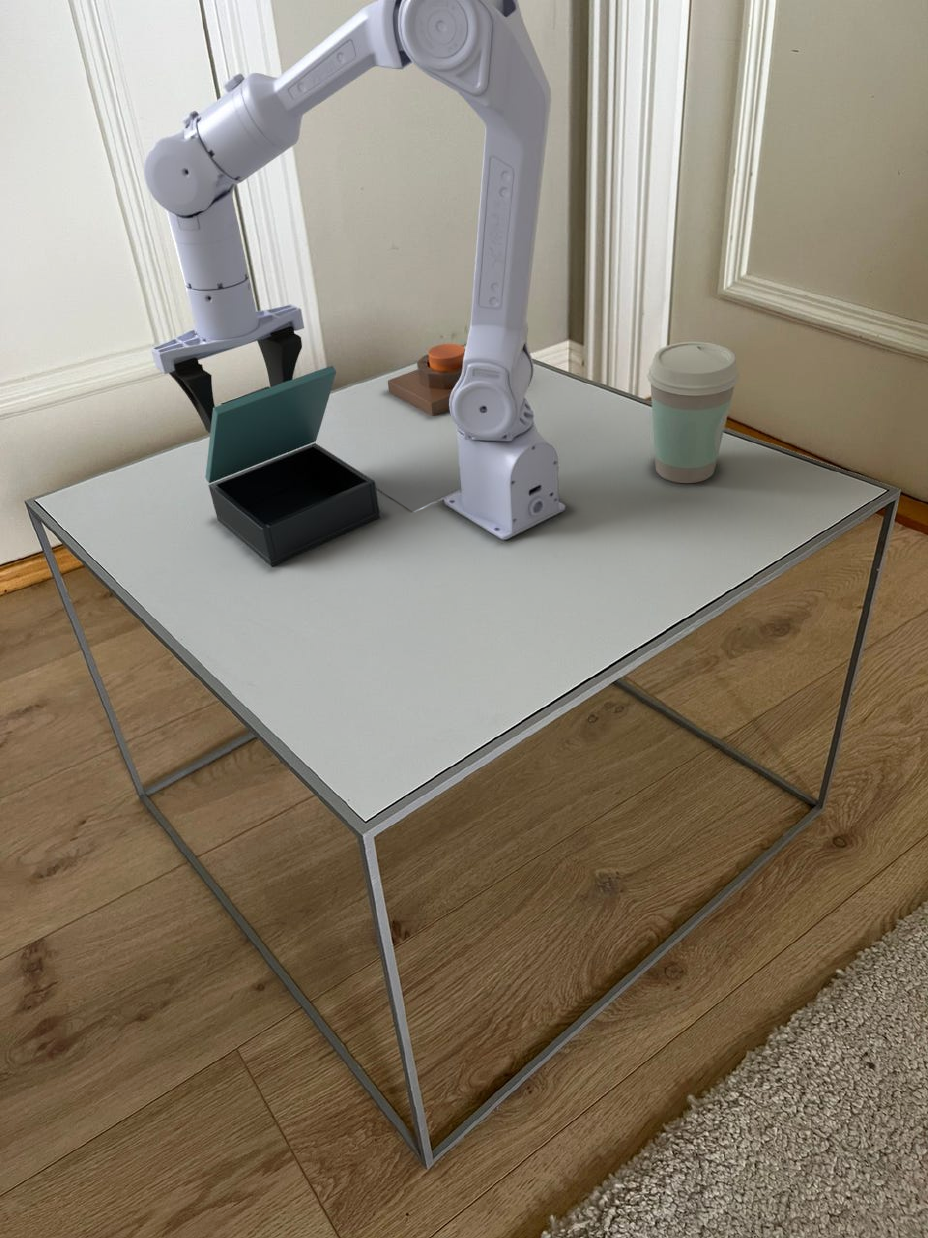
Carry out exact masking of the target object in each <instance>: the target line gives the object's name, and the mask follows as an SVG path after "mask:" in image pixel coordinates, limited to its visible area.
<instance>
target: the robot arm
mask: <svg viewBox="0 0 928 1238" xmlns="http://www.w3.org/2000/svg"><path fill="white" fill-rule="evenodd" d="M411 64H413V65H414V66H415V67H416V68H417V69H419V70H420V71H422V72H423V73H425V74H426V75H427V76H429V77H430V78H432V79H434V80H435V81H438V82H440V83H441V84H443V85H445V86H446V87H448V88H450V89H452V90H453V91H455V92H457V93H458V94H459V95H460V96H461V98H462V99H463V100H464V101H465V102H466V103H467V105H469V107H470V108H471V109H472V110H473V111H474V112H475V114H476V115H477V116H478V117H479V118H480V120H482V122H483V123H484V126H485V129H484V130H485V132H484V143H483V144H484V145H483V155H482V157H483V158H482V170H481V183H480V193H479V194H480V195H479V207H478V208H479V210H478V221H477V234H476V236H477V237H476V245H475V247H476V249H475V261H474V274H473V275H474V276H473V285H472V298H471V299H472V300H471V310H470V311H471V312H470V313H471V314H470V325H469V330H468V335H467V340H466V344H465V353H464V359H463V369H462V374H461V377H460V379H459V381H458V382H457V384H456V385H455V387H454V388H453V390H452V392H451V395H450V399H449V408H450V409H449V413H450V416H451V419H452V421H453V422H454V424H455V425H456V427H455V429H456V439H457V452H458V453H457V454H458V463H459V464H458V465H459V475H460V476H459V477H460V489H461V491H458V492H456V493H454V494H452V495H450V496H447V497H445V498H444V502H443V503H444V505H445V506H447V507H448V508H450V509H452V510H454V511H455V512H456V513H458V514H459V515H462V516H463V517H465V518H467V519H468V520H470V521H471V522H473V523H474V524H476V525H478V526H480V528H483V529H484V530H485V531H487V532H489V533H491V534H492V535H494V536H495V537H497V538H498V539H500V540H503V541H504V540H505V541H506V540H509V539H511V538H513V537H514V536H517V535H518V534H521V533H523V532H525V531H526V530H528V529H530V528H532V527H534V526H537V525H539V524H540V523H542V522H544V521H546V520H548V519H550V518H552V517H555V516H556V515H559V513H560V514H561V513H562V512H564V511H565V510H566V504H564V503H562V502H560V500H559V456H558V453H557V450H556V449H555V447H554V446H553V445H552V444H551V443H550V442H548V441H547V440H546V439H545V438H544V437H543V436H542V434H540V432H539V430H538V429H537V427H536V424H535V419H534V411H533V410H532V409H531V405H530V404H529V402H528V400H527V399H526V398H525V397H526V393H527V390H528V387H530V383H531V382H532V380H533V377H534V369H535V368H534V365H535V364H534V360H533V357H532V355H531V353H530V350H529V346H528V335H529V334H528V333H529V325H528V321H527V314H528V305H529V299H530V298H529V297H530V288H531V279H532V271H533V263H534V254H535V245H536V238H537V228H538V221H539V219H538V218H539V213H540V211H539V209H540V202H541V193H542V185H543V175H544V166H545V158H546V152H547V151H546V150H547V141H548V133H549V132H548V131H549V123H550V115H551V107H552V91H551V90H552V89H551V86H550V83H549V81H548V78H547V76H546V73H545V71H544V69H543V66H542V64H541V61H540V58H539V56H538V54H537V52H536V49H535V46H534V45H533V41H532V40H531V37H530V35H529V33H528V30H527V28H526V25H525V23H524V19H523V16H522V11H521V8H520V4H519V1H518V0H376V1H374V2H372V3H370V4H368V5H366V6H364V7H362V8H361V9H360V10H358V11H357V12H356V13H354V15H352V17H350V18H349V19H348V20H346V21H345V22H344V23H343V24H341V25H340V26H339V27H338V28H337V29H335V30H334V31H333V32H332V33H331V34H330V35H328V36H327V37H326V38H325V39H324V40H322V41H321V42H320V43H319V44H317V45H316V46H314V48H312V49H311V50H310V51H309V52H308V53H307V54H305V55H304V56H303V57H301V58H300V59H299V60H298V61H296V62H295V63H294V64H293V65H291V67H289V68H288V69H287V70H286V71H284V73H282V74H281V75H280V76H278V77H274V76H270V75H267V74H264V73H259V72H253V73H250V74H249V75H247V76H246V77H244V75H243V73H237V74H235V75H234V76H232V77H230V78H229V79H228V80H227V81H225V82H224V83H223V88H224V90H225V91H226V93H224V95H223V94H222V96H220V97H219V98H218V99H217V100H215V101H214V102H213V103H212V104H210V105H209V106H208V107H206V108H205V109H204V110H202V111H201V112H200V113H199V112H197V111H196V110H193V111H191V112H189V113H188V114H186V116H184V117H183V118H182V124H183V126H184V129H183V130H180V131H179V132H176V133H174V134H172V135H171V136H165V137H162V138H159V139H157V140H156V141H155V143H154V145H153V147H152V148H151V149H150V150H149V151H148V153H147V155H146V157H145V160H144V167H143V175H144V180H145V181H144V182H145V184H146V187H147V189H148V191H149V193H150V194H151V196H152V198H153V199H154V200H155V201H156V202H157V204H158V205H160V206H161V207H162V208H163V209H165V211H166V215H167V219H168V223H169V227H170V231H171V236H172V239H173V243H174V244H173V245H174V247H175V251H176V255H177V260H178V264H179V268H180V271H181V275H182V279H183V282H184V287H185V292H186V296H187V299H188V303H189V307H190V311H191V315H192V318H193V323H194V328H192V329H190V330H189V331H186V332H184V333H182V334H180V335H178V336H176V337H174V338H172V339H170V340H168V341H166V342H164V343H162V344H159V345H156V346H152V347H150V351H151V355H152V358H153V362H154V365H155V368H156V369H157V370H158V371H160V372H161V373H163V374H164V375H167V374H169V376H170V377H171V378H172V379H174V381H175V383H177V384H178V386H179V387H180V388H181V390H182V391H183V392H184V393H185V395H186V396H187V398H188V400H189V401H190V403H191V404H192V405H193V407H194V409H195V411H196V412H197V413H198V416H199V418H200V420H201V422H202V424H203V427H204V429H205V431H206V432H208V433H209V434H210V432H211V423H212V414H213V408H214V407H216V405H215V401H214V400H215V399H214V392H213V383H212V382H213V380H212V379H213V378H212V374H211V373H210V372H208V371H206V370H205V369H204V367H203V364H201V363H199V361H200V360H203V359H207V358H209V357H213V356H215V355H216V356H217V355H218V354H221V353H224V352H227V351H230V350H231V351H232V350H233V349H237V348H240V347H243V346H245V345H249V344H252V343H255V342H257V344H258V346H259V349H260V352H261V355H262V358H263V362H264V364H265V368H266V371H267V377H268V381H269V387H273V386H276V385H279V384H282V383H284V382H287V381H290V380H293V379H294V374H295V369H296V366H297V361H298V359H299V355H300V354H301V351H302V349H303V342H302V341H303V340H302V337H301V336H300V335H298V334H296V333H295V332H297V331H300V330H303V329H305V324H304V319H303V318H304V317H303V313H302V308H300V307H297V306H295V305H294V304H291V303H290V304H286V305H283V306H278V307H273V308H269V309H263V310H257V307H256V303H255V298H254V293H253V292H254V291H253V288H252V287H253V286H252V282H251V278H250V273H249V269H248V264H247V258H246V255H245V249H244V245H243V239H242V235H241V230H240V225H239V221H238V215H237V213H236V206H235V202H234V197H233V196H234V189H235V187H236V186H237V185H238V184H240V183H242V182H244V181H246V180H247V179H248V178H249V177H251V176H252V175H254V174H255V173H257V172H258V171H259V170H261V169H262V168H263V167H265V166H266V165H268V164H269V163H271V162H272V161H273V160H275V159H277V158H278V157H279V156H280V155H282V154H283V153H284V152H286V151H288V150H289V149H291V148H292V147H293V146H295V145H296V144H297V143H298V142H299V139H300V133H301V127H302V126H301V125H302V120H303V116H304V115H305V114H307V113H308V112H309V111H311V110H312V109H314V108H315V107H317V106H319V104H321V103H323V102H324V101H325V100H327V99H329V98H330V97H331V96H333V95H334V94H336V93H338V92H339V91H340V90H342V89H343V88H344V87H346V86H347V85H349V84H351V83H352V82H353V81H355V80H356V79H358V78H359V77H361V76H362V75H364V74H365V73H367V72H368V71H370V70H371V69H372V68H376V67H379V68H385V69H386V68H387V69H392V70H393V69H394V70H403V69H405V68H406V67H408V66H409V65H411Z"/></svg>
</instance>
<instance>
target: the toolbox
mask: <svg viewBox="0 0 928 1238" xmlns="http://www.w3.org/2000/svg"><path fill="white" fill-rule="evenodd" d="M336 374H337V370H336V369H335V367H334V366H333V365H329V366H327V367H324V368H321V369H318V370H316V371H313V372H312V371H311V372H309V373H306V374H304V375H302V376H298V377H296V378H293V379H292V380H290V381H287V382H284V383H282V384H279V385H276V386H273V387H270V385H269V386H268V385H267V386H264V387H262V388H259V389H256V390H253V391H250V392H248V393H244V394H242V395H239V396H236V397H234V398H230V399H228V400H225V401H222V402H221V404H220V405H217V406H215V407H214V408H213V414H212V423H211V432H210V433H209V440H208V450H207V451H208V453H207V458H206V459H207V460H206V467H205V475H204V477H205V479H206V481H207V482H208V484H212V483H215V482H217V481H220V480H222V479H225V478H227V477H230V476H232V475H235V474H238V473H240V472H243V471H245V470H248V469H250V468H253V467H255V466H258V465H260V464H263V463H265V462H268V461H270V460H273V459H275V458H278V457H281V456H283V455H286V454H288V453H291V452H293V451H296V450H298V449H301V448H303V447H306V446H308V445H311V444H313V443H316V442H317V439H318V436H319V432H320V429H321V426H322V423H323V419H324V416H325V413H326V409H327V405H328V402H329V399H330V395H331V392H332V388H333V385H334V382H335V378H336Z"/></svg>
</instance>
